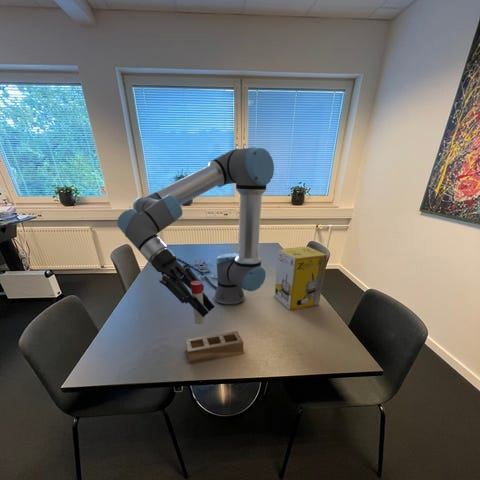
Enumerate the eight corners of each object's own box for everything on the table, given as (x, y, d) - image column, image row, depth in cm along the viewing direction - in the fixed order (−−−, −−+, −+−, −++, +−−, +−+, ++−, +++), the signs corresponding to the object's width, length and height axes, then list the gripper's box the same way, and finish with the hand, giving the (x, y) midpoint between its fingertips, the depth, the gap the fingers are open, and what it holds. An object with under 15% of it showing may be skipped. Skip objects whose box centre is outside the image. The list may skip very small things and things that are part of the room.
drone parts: (226, 261, 189) (226, 257, 187) (235, 279, 160) (235, 274, 158) (194, 262, 184) (194, 258, 183) (197, 280, 155) (197, 275, 153)
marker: (193, 319, 88) (189, 281, 81) (204, 318, 89) (200, 280, 82) (195, 324, 85) (191, 285, 78) (205, 323, 86) (202, 284, 79)
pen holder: (186, 350, 95) (185, 339, 93) (237, 341, 100) (237, 330, 98) (189, 363, 89) (187, 351, 86) (243, 353, 94) (243, 341, 91)
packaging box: (318, 305, 128) (327, 255, 115) (289, 310, 123) (295, 258, 110) (301, 292, 141) (307, 246, 128) (274, 296, 136) (278, 249, 123)
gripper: (146, 255, 72) (202, 318, 75) (180, 241, 85) (227, 295, 88) (135, 270, 76) (189, 329, 79) (169, 255, 89) (214, 306, 92)
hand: (209, 311), depth 83 cm, fingers closed on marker, 3 cm apart
